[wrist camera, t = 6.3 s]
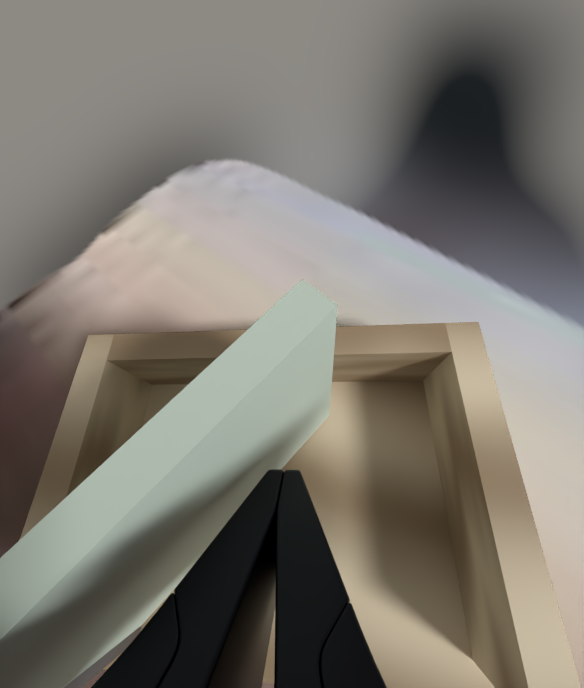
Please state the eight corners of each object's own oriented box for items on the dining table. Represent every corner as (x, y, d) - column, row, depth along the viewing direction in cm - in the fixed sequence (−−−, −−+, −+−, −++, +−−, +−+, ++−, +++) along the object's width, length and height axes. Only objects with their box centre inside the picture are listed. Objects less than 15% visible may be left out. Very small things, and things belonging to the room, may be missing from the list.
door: (332, 418, 13) (347, 311, 5) (121, 656, 11) (-722, 1395, 2) (313, 400, 14) (293, 272, 5) (105, 625, 11) (-649, 1128, 2)
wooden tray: (502, 684, 10) (617, 819, 6) (79, 651, 12) (-48, 742, 8) (437, 363, 15) (478, 321, 11) (145, 369, 17) (88, 335, 13)
